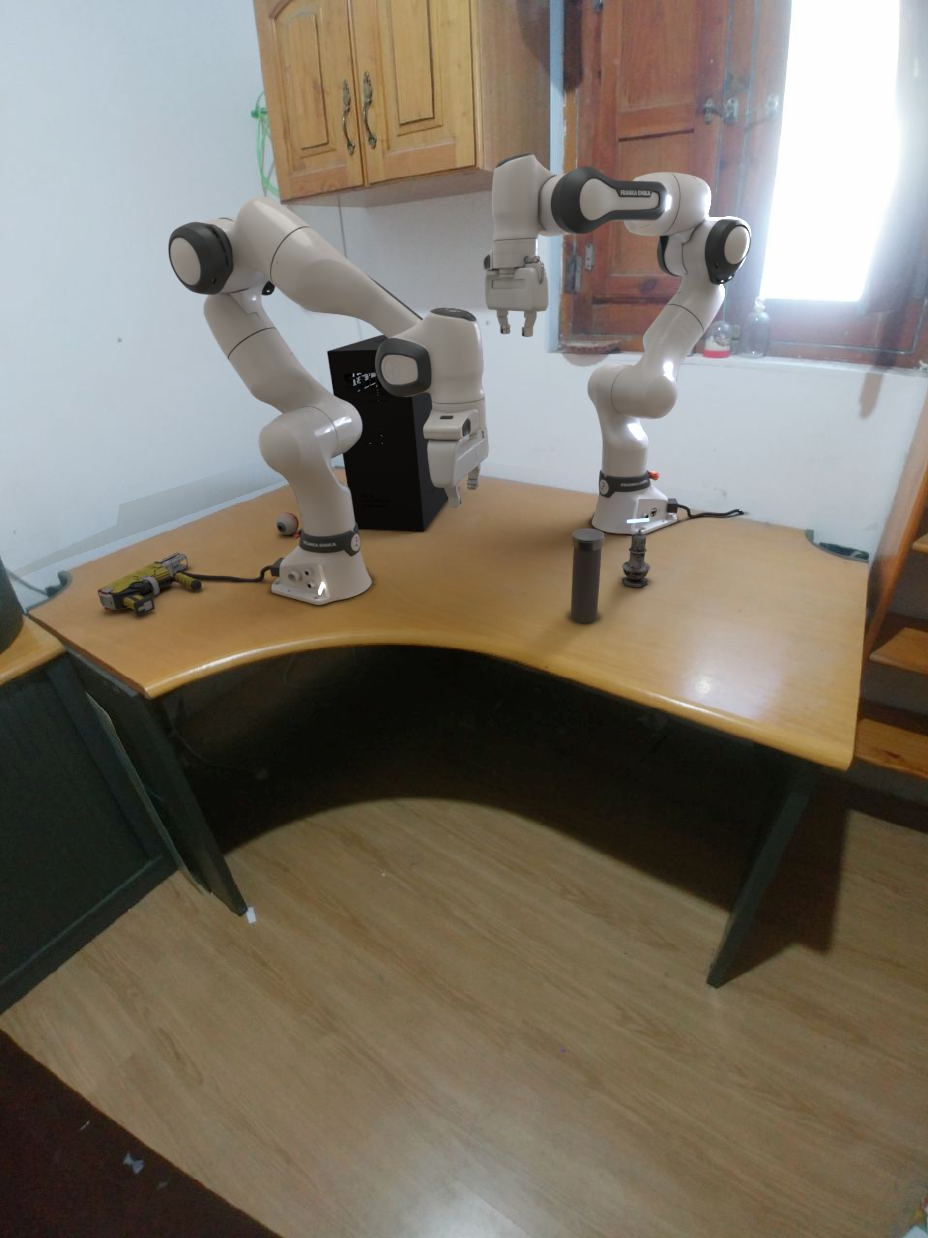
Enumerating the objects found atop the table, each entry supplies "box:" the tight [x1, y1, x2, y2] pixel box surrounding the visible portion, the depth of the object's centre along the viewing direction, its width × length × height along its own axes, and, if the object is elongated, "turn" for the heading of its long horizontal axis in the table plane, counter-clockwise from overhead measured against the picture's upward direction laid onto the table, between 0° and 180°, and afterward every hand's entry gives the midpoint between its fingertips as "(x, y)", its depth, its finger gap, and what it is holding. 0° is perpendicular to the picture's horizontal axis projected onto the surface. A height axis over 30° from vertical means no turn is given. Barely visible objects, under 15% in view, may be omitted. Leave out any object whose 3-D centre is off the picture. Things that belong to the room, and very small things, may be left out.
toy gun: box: [97, 551, 203, 617], centre depth 137 cm, size 5×24×15 cm
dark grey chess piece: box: [621, 529, 651, 588], centre depth 127 cm, size 6×6×12 cm
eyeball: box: [275, 511, 300, 536], centre depth 163 cm, size 6×6×6 cm
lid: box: [571, 528, 605, 551], centre depth 110 cm, size 6×6×2 cm
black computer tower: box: [326, 334, 449, 532], centre depth 169 cm, size 38×20×45 cm, turn 167°
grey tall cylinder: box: [570, 546, 603, 624], centre depth 114 cm, size 5×5×17 cm
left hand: (464, 496), depth 107 cm, fingers open, 8 cm apart
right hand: (516, 335), depth 125 cm, fingers open, 8 cm apart
